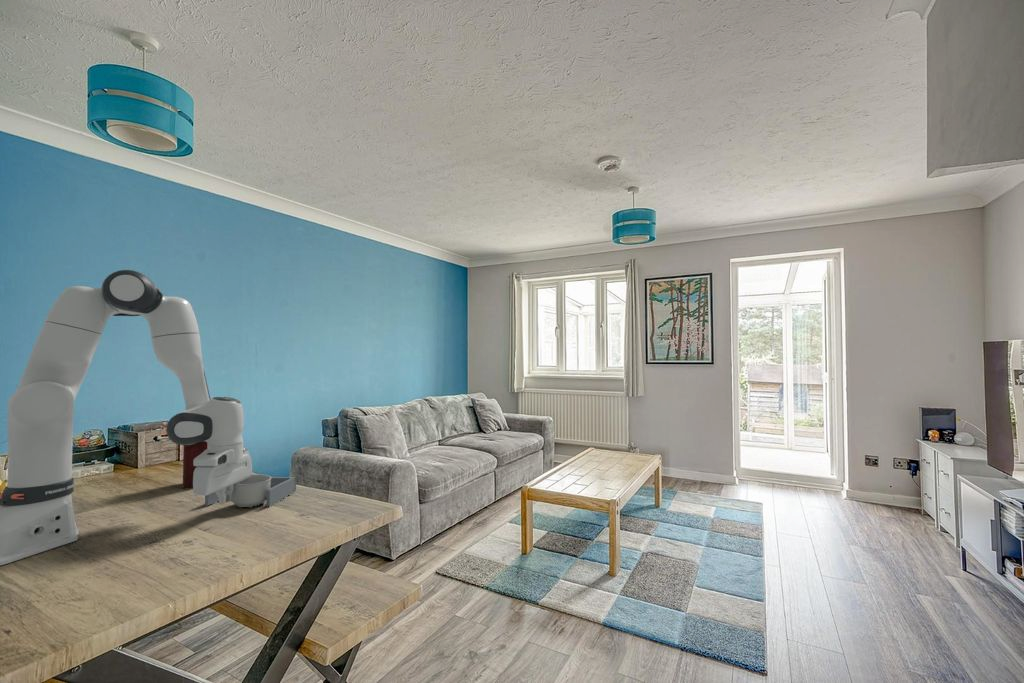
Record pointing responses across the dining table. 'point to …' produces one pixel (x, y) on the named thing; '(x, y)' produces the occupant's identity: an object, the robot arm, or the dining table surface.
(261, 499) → the teacup
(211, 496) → the box
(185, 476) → the dark red piece
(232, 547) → the dining table surface
